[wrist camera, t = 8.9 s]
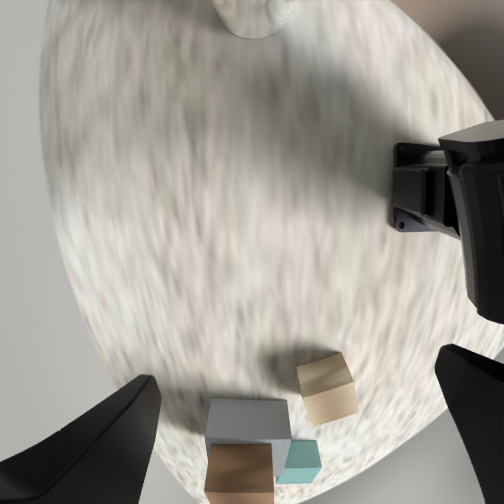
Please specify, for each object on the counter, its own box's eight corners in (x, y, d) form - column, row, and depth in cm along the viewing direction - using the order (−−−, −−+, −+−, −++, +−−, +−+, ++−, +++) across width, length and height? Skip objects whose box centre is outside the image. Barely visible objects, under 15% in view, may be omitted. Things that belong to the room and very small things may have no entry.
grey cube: (286, 398, 24) (291, 439, 19) (279, 439, 26) (282, 475, 21) (211, 396, 24) (204, 436, 19) (214, 437, 26) (210, 473, 21)
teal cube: (316, 439, 26) (321, 467, 22) (307, 457, 27) (311, 483, 23) (281, 440, 26) (283, 468, 22) (274, 457, 27) (276, 483, 23)
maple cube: (341, 351, 22) (353, 381, 18) (347, 382, 23) (358, 412, 19) (296, 366, 23) (302, 398, 19) (306, 395, 24) (312, 426, 20)
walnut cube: (271, 443, 19) (273, 492, 15) (272, 469, 21) (273, 512, 16) (210, 443, 19) (204, 491, 15) (218, 470, 21) (214, 511, 16)
